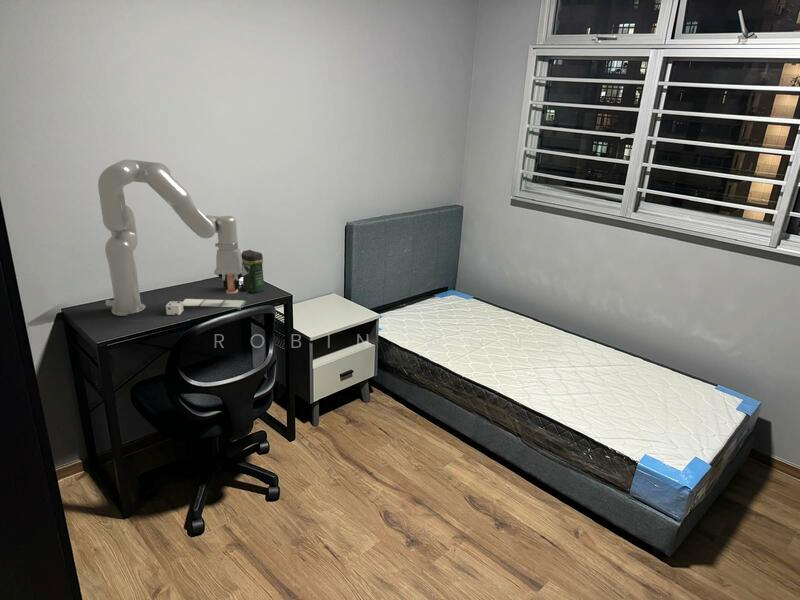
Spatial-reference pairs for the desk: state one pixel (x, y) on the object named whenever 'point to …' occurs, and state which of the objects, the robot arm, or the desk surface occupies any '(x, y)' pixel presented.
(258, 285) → the coffee jar
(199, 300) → the board
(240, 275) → the robot arm
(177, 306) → the die
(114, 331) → the desk surface
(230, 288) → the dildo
